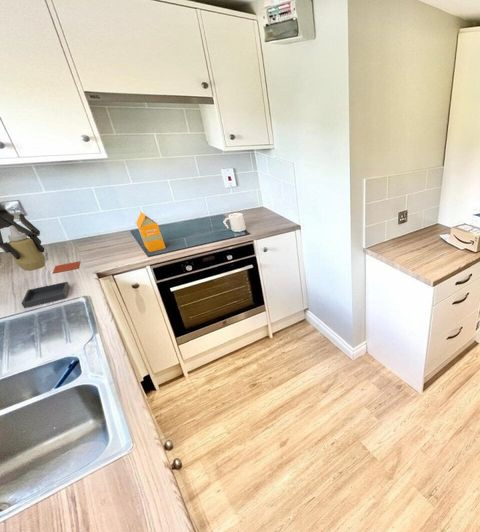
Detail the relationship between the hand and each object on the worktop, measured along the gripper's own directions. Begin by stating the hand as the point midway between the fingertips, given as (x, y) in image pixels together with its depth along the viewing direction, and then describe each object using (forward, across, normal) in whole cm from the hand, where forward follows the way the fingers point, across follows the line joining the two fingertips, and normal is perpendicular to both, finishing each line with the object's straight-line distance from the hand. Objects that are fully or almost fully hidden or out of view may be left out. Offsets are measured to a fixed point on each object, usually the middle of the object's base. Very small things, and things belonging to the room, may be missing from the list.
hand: (30, 253), depth 126 cm
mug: (+17, -89, -10) cm, 92 cm away
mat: (-5, -16, -32) cm, 37 cm away
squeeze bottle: (+3, 0, -8) cm, 8 cm away
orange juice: (+6, -50, -22) cm, 55 cm away
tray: (+13, +1, -15) cm, 20 cm away
